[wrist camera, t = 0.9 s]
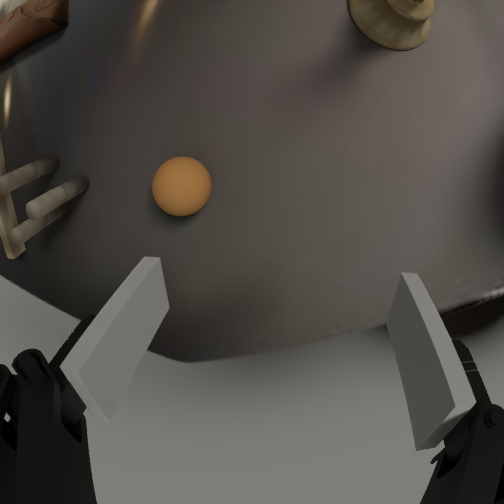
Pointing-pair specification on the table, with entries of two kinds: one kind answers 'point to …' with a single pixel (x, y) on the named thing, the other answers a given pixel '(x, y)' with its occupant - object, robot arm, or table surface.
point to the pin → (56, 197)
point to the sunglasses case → (30, 25)
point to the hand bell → (394, 21)
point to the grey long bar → (8, 216)
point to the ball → (181, 186)
